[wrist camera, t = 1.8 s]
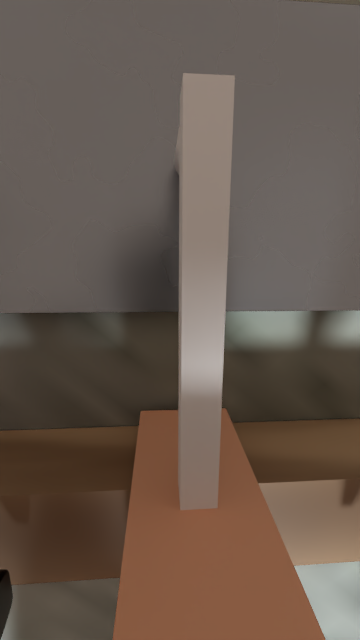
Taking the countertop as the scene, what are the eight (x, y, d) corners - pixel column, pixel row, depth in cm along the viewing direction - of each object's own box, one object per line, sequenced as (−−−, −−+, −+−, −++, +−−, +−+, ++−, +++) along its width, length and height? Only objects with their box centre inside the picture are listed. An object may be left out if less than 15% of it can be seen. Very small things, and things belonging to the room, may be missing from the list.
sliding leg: (220, 520, 11) (307, 893, 5) (143, 524, 11) (120, 921, 4) (236, 161, 9) (501, -162, 2) (133, 158, 8) (35, -213, 2)
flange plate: (457, 304, 11) (489, 309, 10) (-134, 308, 9) (-172, 314, 8) (513, 44, 9) (560, 16, 8) (-206, 1, 7) (-265, -39, 6)
